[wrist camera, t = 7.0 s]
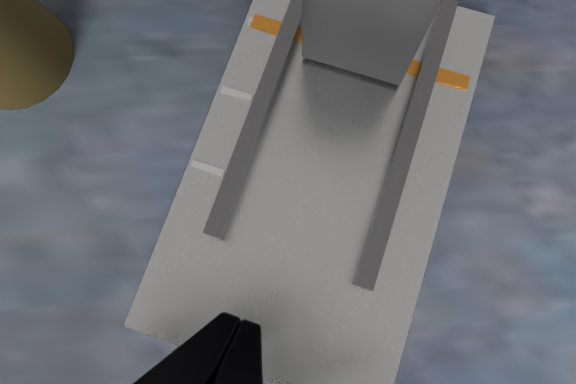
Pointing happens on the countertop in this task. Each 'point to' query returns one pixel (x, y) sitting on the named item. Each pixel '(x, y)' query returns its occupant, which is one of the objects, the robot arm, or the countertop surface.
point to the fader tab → (366, 34)
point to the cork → (31, 53)
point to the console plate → (314, 199)
